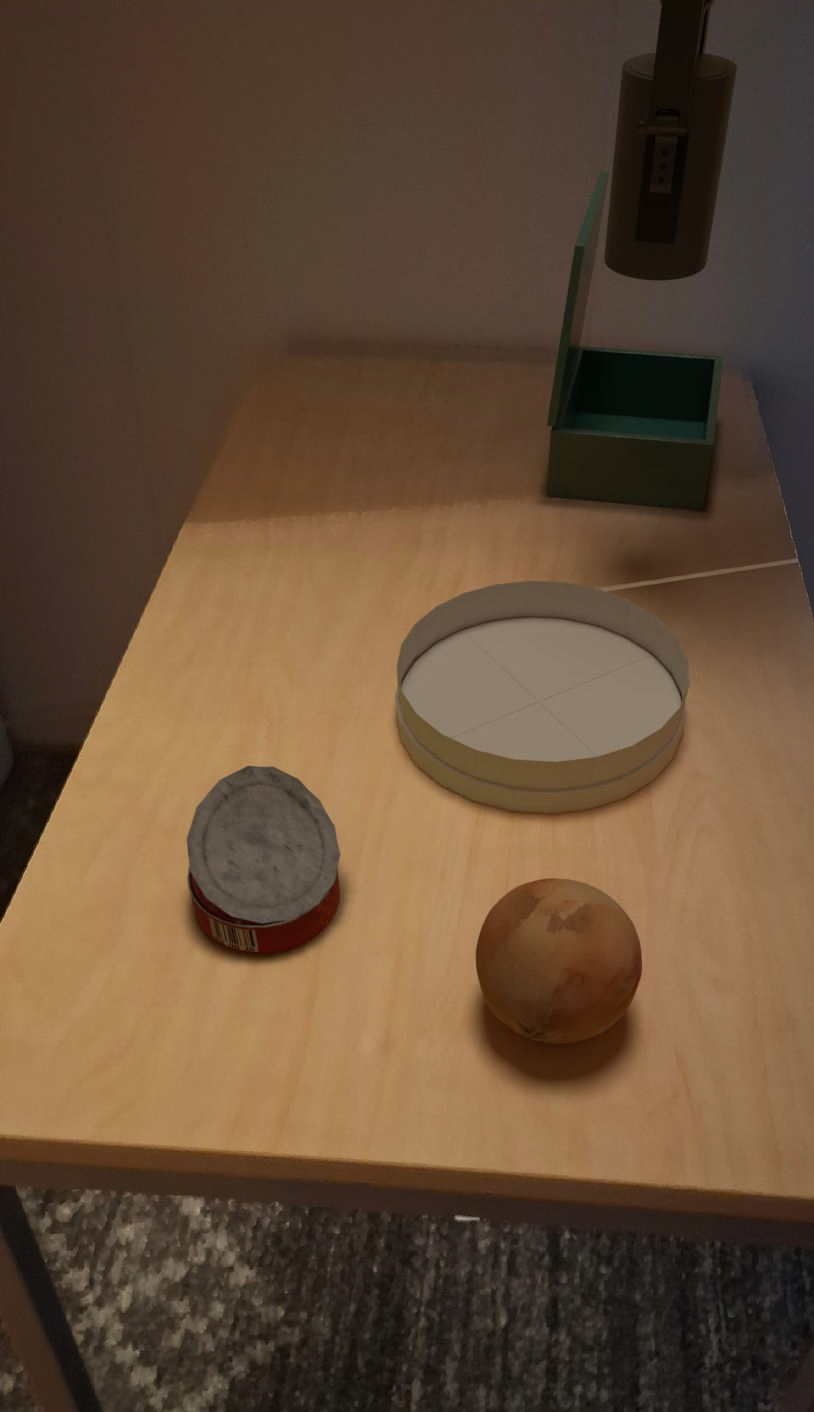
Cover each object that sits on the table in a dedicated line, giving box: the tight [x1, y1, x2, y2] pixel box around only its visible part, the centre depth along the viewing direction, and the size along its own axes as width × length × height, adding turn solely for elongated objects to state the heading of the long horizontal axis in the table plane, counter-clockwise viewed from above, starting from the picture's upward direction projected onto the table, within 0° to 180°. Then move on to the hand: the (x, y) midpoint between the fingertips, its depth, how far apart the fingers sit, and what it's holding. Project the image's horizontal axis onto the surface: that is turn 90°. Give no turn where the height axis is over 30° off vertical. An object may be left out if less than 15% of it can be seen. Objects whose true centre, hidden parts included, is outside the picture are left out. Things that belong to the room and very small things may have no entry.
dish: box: [394, 580, 690, 815], centre depth 89 cm, size 22×22×5 cm
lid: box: [546, 170, 610, 427], centre depth 106 cm, size 15×18×1 cm
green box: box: [545, 345, 724, 512], centre depth 113 cm, size 15×18×7 cm
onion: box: [475, 877, 643, 1044], centre depth 68 cm, size 10×10×10 cm
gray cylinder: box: [603, 51, 738, 282], centre depth 81 cm, size 7×7×12 cm
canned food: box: [186, 765, 341, 955], centre depth 76 cm, size 11×10×10 cm
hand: (660, 219), depth 83 cm, fingers closed on gray cylinder, 7 cm apart
